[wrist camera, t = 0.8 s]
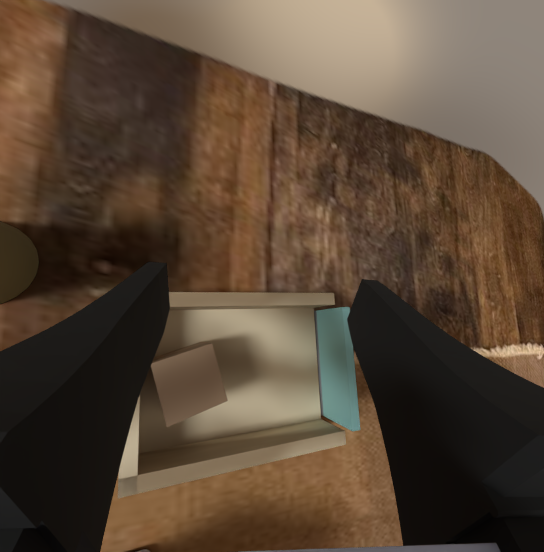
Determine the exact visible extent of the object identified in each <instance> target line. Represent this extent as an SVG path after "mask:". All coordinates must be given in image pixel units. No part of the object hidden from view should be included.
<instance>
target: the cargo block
mask: <svg viewBox="0 0 544 552" xmlns="http://www.w3.org/2000/svg"><path fill="white" fill-rule="evenodd" d="M151 368H152V372H153V376H154V380H155V384H156V387H157V391H158V395H159V399H160V403H161V407H162V411H163V414H164V418H165V422H166V426H167V427H169V426H171V425H173V424H176V423H178V422H180V421H183V420H185V419H187V418H190V417H192V416H194V415H197V414H199V413H201V412H203V411H206V410H208V409H210V408H213V407H215V406H217V405H220V404H222V403H224V402H227V401H228V400H227V396H226V392H225V389H224V385H223V381H222V378H221V374H220V370H219V367H218V363H217V359H216V356H215V352H214V349H213V345H212V343H208V342H199V343H196V344H193V345H190V346H187V347H184V348H181V349H178V350H175V351H172V352H169V353H166V354H163V355H160V356H156V357H154V359H153V362H152V364H151Z"/></svg>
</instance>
